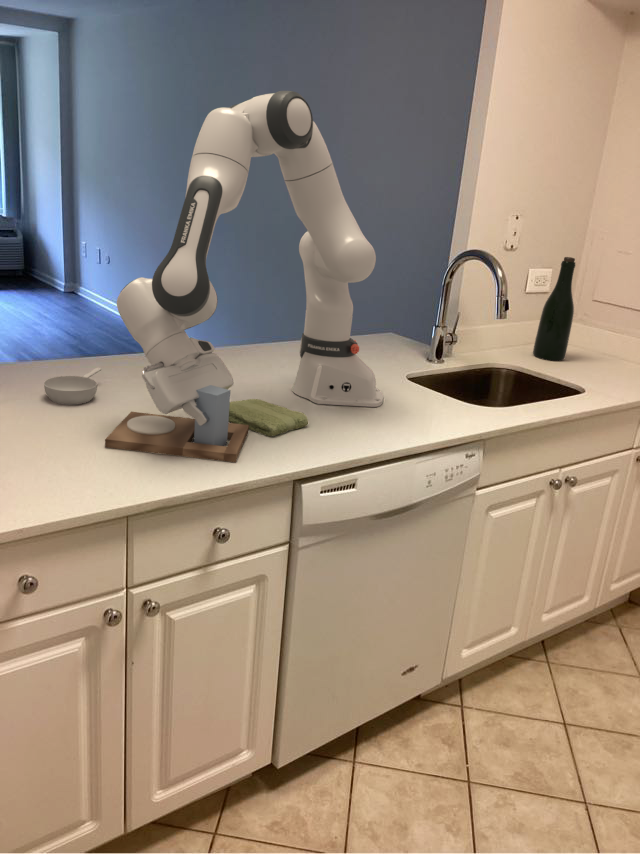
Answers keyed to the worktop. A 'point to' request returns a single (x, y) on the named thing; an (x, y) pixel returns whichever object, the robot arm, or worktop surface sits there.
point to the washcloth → (265, 417)
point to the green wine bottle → (557, 317)
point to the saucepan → (71, 388)
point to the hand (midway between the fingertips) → (214, 419)
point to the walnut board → (177, 440)
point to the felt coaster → (151, 425)
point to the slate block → (213, 416)
